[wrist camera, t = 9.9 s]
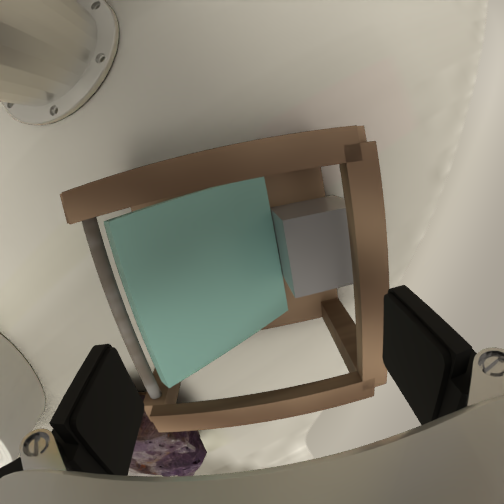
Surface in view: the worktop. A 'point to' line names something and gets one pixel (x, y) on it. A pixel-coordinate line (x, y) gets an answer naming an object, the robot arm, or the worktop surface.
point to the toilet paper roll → (17, 400)
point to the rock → (166, 450)
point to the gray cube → (313, 244)
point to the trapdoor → (199, 273)
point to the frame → (299, 309)
